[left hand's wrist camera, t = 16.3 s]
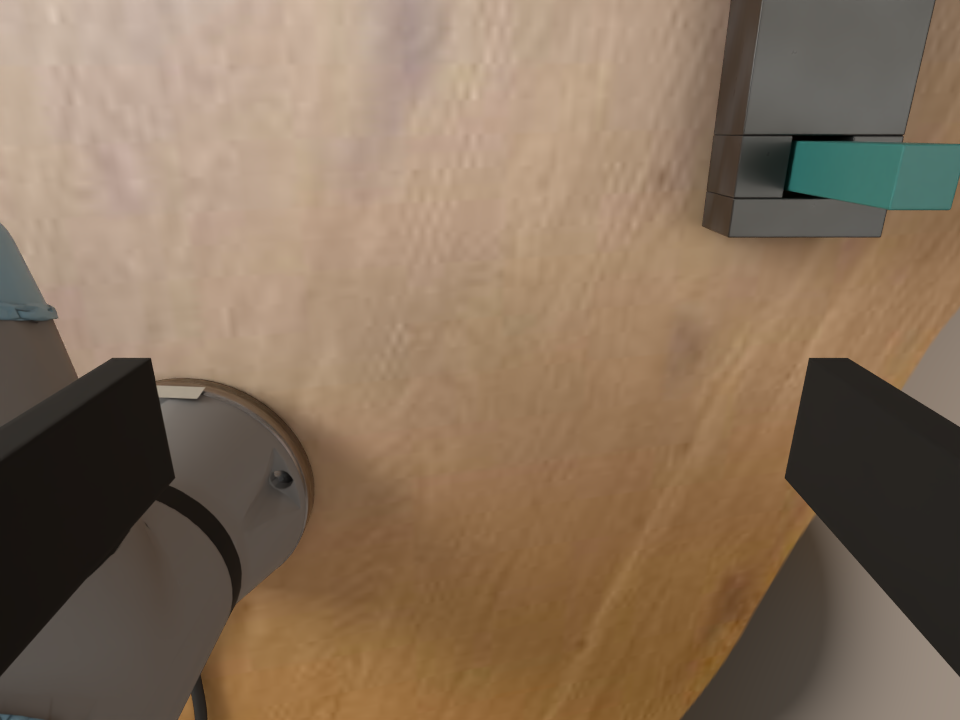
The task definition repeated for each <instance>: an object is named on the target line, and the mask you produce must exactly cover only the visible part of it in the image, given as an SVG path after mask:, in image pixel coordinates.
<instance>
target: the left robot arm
mask: <svg viewBox="0 0 960 720" xmlns="http://www.w3.org/2000/svg"><path fill="white" fill-rule="evenodd" d="M57 318H58V315H57V312H56V310H55V308H54V307H52V306H51V305H48V304H47V303H46V302H45V300H44V298H43V296H42V294H41V292H40V290H39V288H38V286H37V284H36V282H35V281H34V279H33V277H32V275H31V273H30V271H29V269H28V267H27V265H26V263H25V261H24V259H23V257H22V255H21V253H20V251H19V249H18V247H17V245H16V243H15V241H14V240H13V238H12V236H11V235H10V233H9V232H8V230H7V229H6V228H5V227H4V226H3V225H2V224H1V223H0V720H178V718H179V716H180V714H181V712H182V710H183V708H184V706H185V704H186V702H187V700H188V698H189V696H190V694H191V695H192V700H193V706H194V714H195V720H207V708H206V701H205V695H204V690H203V685H202V680H201V675H200V674H201V672H202V670H203V668H204V666H205V664H206V662H207V660H208V658H209V656H210V654H211V652H212V650H213V648H214V646H215V644H216V642H217V640H218V638H219V636H220V634H221V632H222V630H223V628H224V626H225V624H226V622H227V620H228V618H229V616H230V614H231V612H232V610H233V608H234V607H235V605H236V603H238V602H239V601H240V600H241V599H242V598H243V597H244V596H246V595H247V594H248V593H249V592H250V591H251V590H253V589H254V588H255V587H256V586H257V585H258V584H259V583H261V582H262V581H263V580H264V579H265V578H266V577H267V576H269V575H270V574H271V573H272V572H273V571H274V570H276V569H277V568H278V567H280V566H281V565H282V564H283V563H284V562H285V561H286V560H287V559H288V557H289V556H290V555H291V554H292V553H293V551H294V549H295V548H296V546H297V545H298V543H299V541H300V539H301V537H302V534H303V532H304V530H305V527H306V525H307V523H308V521H309V518H310V515H311V512H312V507H313V502H314V481H313V474H312V470H311V466H310V463H309V461H308V458H307V455H306V453H305V451H304V449H303V447H302V445H301V444H300V442H299V440H298V439H297V437H296V436H295V435H294V433H293V432H292V431H291V429H290V428H289V427H288V426H287V425H286V424H285V422H284V421H283V420H282V419H281V418H280V417H278V416H277V415H276V414H275V413H274V412H273V411H272V410H270V409H269V408H268V407H267V406H265V405H264V404H262V403H261V402H259V401H258V400H256V399H255V398H253V397H251V396H249V395H247V394H245V393H243V392H241V391H239V390H237V389H234V388H232V387H229V386H226V385H223V384H219V383H215V382H211V381H206V380H200V379H189V378H174V379H165V380H159V381H155V376H154V371H153V366H152V362H151V358H112V359H110V360H108V361H107V362H105V363H103V364H102V365H100V366H99V367H97V368H95V369H94V370H92V371H90V372H89V373H87V374H86V375H84V376H82V377H81V378H79V379H78V376H77V374H76V372H75V369H74V367H73V365H72V363H71V360H70V358H69V356H68V353H67V351H66V349H65V346H64V344H63V342H62V339H61V337H60V335H59V332H58V330H57V328H56V325H55V323H54V321H53V319H57ZM785 479H786V480H787V481H788V482H789V483H790V485H791V486H792V487H793V488H794V489H795V490H796V491H797V493H798V494H799V495H800V496H801V497H802V498H803V499H804V500H805V502H806V503H807V504H808V505H809V506H810V507H811V508H812V510H813V511H814V512H815V513H816V514H817V515H818V516H819V518H820V519H821V520H822V521H823V522H824V523H825V524H826V525H827V527H828V528H829V529H830V530H831V531H832V532H833V533H834V535H835V536H836V537H837V538H838V539H839V540H840V541H841V543H842V544H843V545H844V546H845V547H846V548H847V549H848V550H849V552H850V553H851V554H852V555H853V556H854V557H855V558H856V559H857V561H858V562H859V563H860V564H861V565H862V566H863V567H864V569H865V570H866V571H867V572H868V573H869V574H870V575H871V577H872V578H873V579H874V580H875V581H876V582H877V583H878V584H879V586H880V587H881V588H882V589H883V590H884V591H885V592H886V594H887V595H888V596H889V597H890V598H891V599H892V600H893V602H894V603H895V604H896V605H897V606H898V607H899V608H900V610H901V611H902V612H903V613H904V614H905V615H906V616H907V617H908V619H909V620H910V621H911V622H912V623H913V624H914V625H915V627H916V628H917V629H918V630H919V631H920V632H921V633H922V634H923V636H924V637H925V638H926V639H927V640H928V641H929V642H930V644H931V645H932V646H933V647H934V648H935V649H936V650H937V652H938V653H939V654H940V655H941V656H942V657H943V658H944V659H945V661H946V662H947V663H948V664H949V665H950V666H951V667H952V669H953V670H954V671H955V672H956V673H957V674H958V675H959V676H960V427H959V426H957V425H956V424H954V423H952V422H951V421H949V420H947V419H946V418H944V417H943V416H941V415H939V414H938V413H936V412H935V411H933V410H931V409H930V408H928V407H926V406H925V405H923V404H922V403H920V402H918V401H917V400H915V399H913V398H912V397H910V396H908V395H907V394H905V393H904V392H902V391H900V390H899V389H897V388H896V387H894V386H892V385H891V384H889V383H887V382H886V381H884V380H883V379H881V378H879V377H878V376H876V375H874V374H873V373H871V372H870V371H868V370H866V369H865V368H863V367H861V366H860V365H858V364H857V363H855V362H853V361H852V360H850V359H848V358H809V362H808V366H807V371H806V376H805V381H804V386H803V391H802V396H801V401H800V405H799V410H798V415H797V420H796V425H795V430H794V435H793V440H792V445H791V449H790V454H789V459H788V464H787V469H786V474H785Z"/></svg>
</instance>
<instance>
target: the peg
mask: <svg viewBox="0 0 960 720" xmlns="http://www.w3.org/2000/svg"><path fill="white" fill-rule="evenodd" d="M959 176H960V144H941V143H900V142H859V141H819V140H792V144H791V149H790V155H789V161H788V167H787V173H786V179H785V185H784V190H787V191H792V192H797V193H802V194H808V195H813V196H818V197H823V198H829V199H834V200H839V201H844V202H850V203H855V204H860V205H865V206H871V207H876V208H881V209H886V210H950V209H951V206H952V202H953V199H954V195H955V191H956V188H957V184H958V180H959Z"/></svg>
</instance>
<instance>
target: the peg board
mask: <svg viewBox="0 0 960 720" xmlns="http://www.w3.org/2000/svg"><path fill="white" fill-rule="evenodd" d="M934 5H935V0H731V5H730V13H729V21H728V29H727V36H726V44H725V52H724V60H723V68H722V75H721V83H720V91H719V99H718V107H717V115H716V122H715V130H714V137H713V145H712V153H711V161H710V168H709V176H708V184H707V192H706V200H705V208H704V216H703V224H702V226H703V227H705V228H708V229H710V230H712V231H715V232H717V233H720V234H722V235H724V236H727V237H881V234H882V229H883V225H884V221H885V216H886V212H887V210H886V209H881V208H876V207H871V206H865V205H860V204H855V203H850V202H844V201H839V200H834V199H829V198H823V197H818V196H813V195H808V194H802V193H797V192H792V191H783V190H784V185H785V179H786V173H787V167H788V161H789V155H790V149H791V144H792V138H793V136H792V135H814V136H813V139H812V140H819V141H859V142H900V143H902V142H903V138H904V137H903V136H902V135H904V134H905V130H906V126H907V121H908V117H909V113H910V108H911V104H912V100H913V95H914V91H915V87H916V82H917V78H918V74H919V69H920V65H921V61H922V57H923V52H924V48H925V44H926V39H927V35H928V31H929V26H930V22H931V18H932V13H933V9H934Z"/></svg>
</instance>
